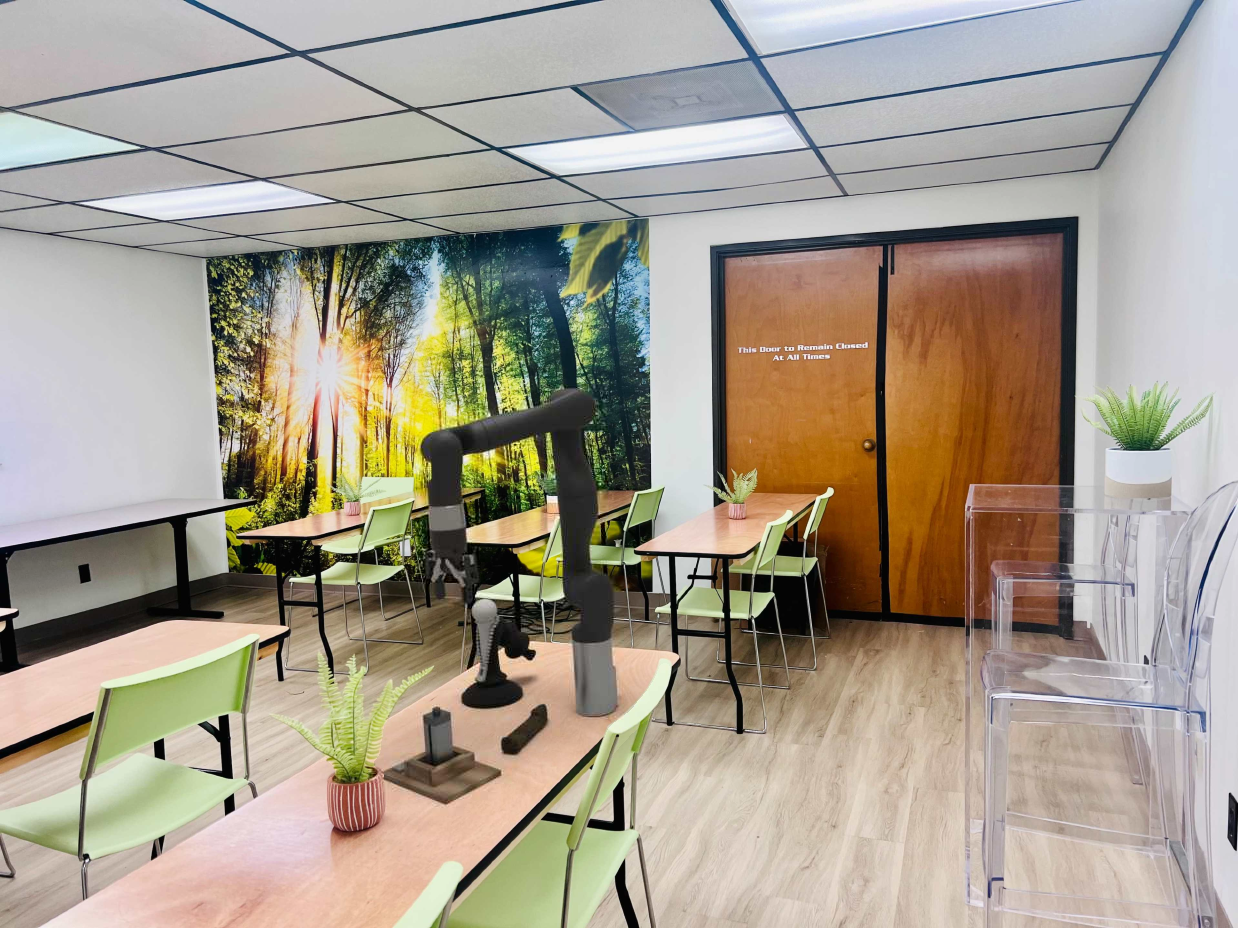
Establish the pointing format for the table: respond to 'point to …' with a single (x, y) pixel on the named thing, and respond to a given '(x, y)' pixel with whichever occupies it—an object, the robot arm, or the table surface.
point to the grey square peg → (438, 737)
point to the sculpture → (495, 659)
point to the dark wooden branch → (525, 730)
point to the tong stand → (442, 775)
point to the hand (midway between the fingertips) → (453, 600)
